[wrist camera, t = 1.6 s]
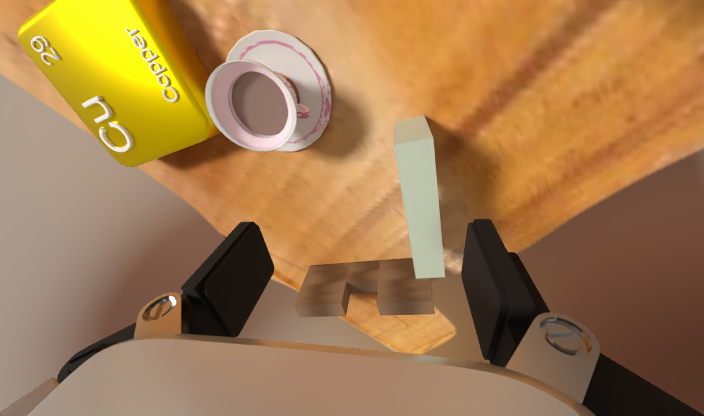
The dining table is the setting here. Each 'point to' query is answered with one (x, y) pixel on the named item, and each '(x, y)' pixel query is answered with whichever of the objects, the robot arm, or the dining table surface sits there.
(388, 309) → the walnut upright plate
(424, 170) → the sage cross-piece
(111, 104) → the element tile
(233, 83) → the teacup
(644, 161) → the dining table surface
